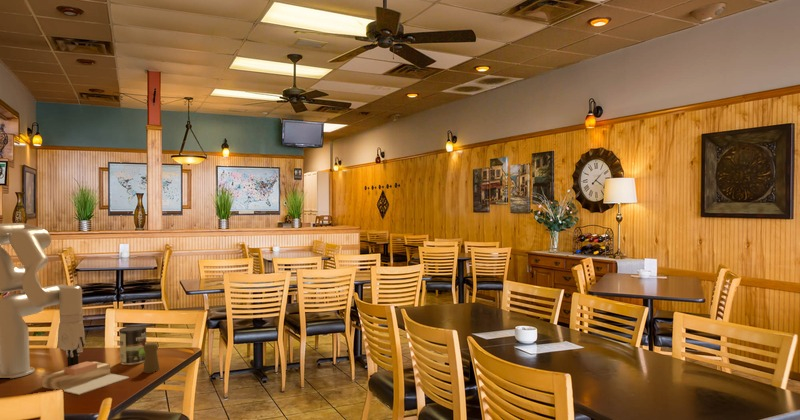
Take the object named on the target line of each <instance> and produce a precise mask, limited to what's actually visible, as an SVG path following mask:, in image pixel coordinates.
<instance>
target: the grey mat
mask: <svg viewBox="0 0 800 420" xmlns="http://www.w3.org/2000/svg"><path fill="white" fill-rule="evenodd" d="M128 379H130V377H129V376H127V375H120V374H116V373H110V374H108V375H104V376H101V377H98V378H95V379H92V380H89V381H86V382H82V383H79V384H76V385H73V386H70V387H67V388H64V389H63V390H64V392H63V393H69V394H73V395H76V396H77V395H78V396H80V395H83V394H86V393H89V392H92V391H96V390H98V389H101V388H103V387H107V386H110V385H113V384H116V383H119V382H123V381H125V380H128Z"/></svg>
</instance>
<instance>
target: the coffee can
mask: <svg viewBox="0 0 800 420" xmlns="http://www.w3.org/2000/svg"><path fill="white" fill-rule="evenodd" d="M118 330H119V331H118V332H119V350H120V351H119V352H120V354H119V356H120V365H124V366H131V365H132V366H133V365H138V364H144V360H145V351H144V345H145V344H147V326H146V325H131V326H125V327H122V328H119V329H118Z"/></svg>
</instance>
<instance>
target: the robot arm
mask: <svg viewBox="0 0 800 420" xmlns="http://www.w3.org/2000/svg"><path fill="white" fill-rule="evenodd" d="M51 243H52V237H51V235H50V233H49V231H47V230H46V229H44V228H42V227H40V226H36V225H32V224H29V223H25V222H13V223H12V222H10V223H9V222H8V223H0V293H11V292H16V291H20V292H17V293H12V294H8V295H4V296H2V297H0V378H10V379H15V378H21V377H25V376H28V375H31V374H33V373H34V372H35V367H33V366H30V363H31V362H30V361H31V360H30V338H29V336H30V335H29V334H30V333H29V326H28V323H26V321H25V320H24V318H23V317H27V316H28V317H29V316H33V315H37V314H39V313H41V312H42V311H44V309H45V308H47V307H51V306H57V305H58V307H59V308H58V310H59V323H58V330H57V347H58V348H59V349H61V350H62V351H65V355H66V357H67V358H66V359H67V367H69V366H72V365H76V364H79V356H80V353H83V351H84V348H85V346H86V334H85V327H84V319H83V317H84V315H83V290H82V289H83V288H82V287H81V286H80V285H68V284H64V283H63V284H62V283H61V284H53V285H49V286H47V285H46V286H42V284H41V281H40V279H39V275H38V273H37V272H39V271H40V270H43V269H44V268H45V267H46V266H47V265H48V264H49V263H50V262H49V261H50V260H49V257H48V255H47V254H46V252H45V250H44V249H48V248H49V247H50V246H51ZM4 245H10V246H11V248H12V250H13V251H14V253H15V254H16V257H17V258H18V259H19V261H20V264H21V266H15V264H14V262H13V259H12V256H11V255H10V253H9V252H8V251H7V250H5V248H4V247H2V246H4Z"/></svg>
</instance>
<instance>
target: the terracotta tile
mask: <svg viewBox="0 0 800 420" xmlns="http://www.w3.org/2000/svg"><path fill="white" fill-rule="evenodd" d="M94 362H95V361H94ZM94 362H93V361H83V362H78V364H76V365H72V366H69V367H68V366H66V367H63V370H64V373H66V374H71V375H77V374H80V373H83V372H87V371H90V370H93V369H97V363H94Z"/></svg>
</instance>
